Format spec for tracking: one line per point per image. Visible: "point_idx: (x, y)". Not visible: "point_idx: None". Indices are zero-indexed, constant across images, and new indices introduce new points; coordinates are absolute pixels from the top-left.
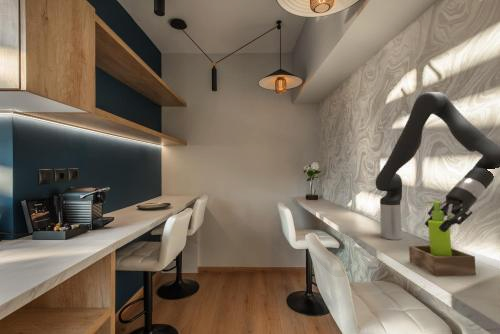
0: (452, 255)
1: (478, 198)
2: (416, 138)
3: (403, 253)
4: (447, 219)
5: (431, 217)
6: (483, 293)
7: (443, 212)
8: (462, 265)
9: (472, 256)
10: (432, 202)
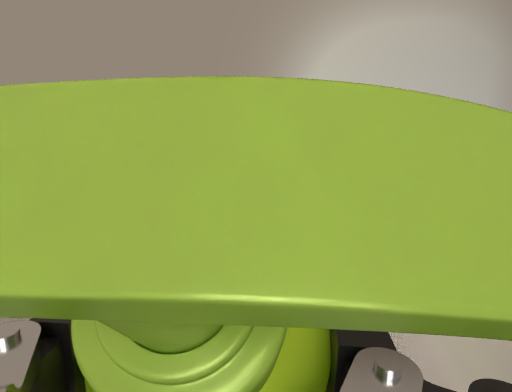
0: None
1: None
2: None
3: (490, 349)
4: (25, 327)
5: (337, 333)
6: (4, 320)
7: (86, 372)
8: None
9: None
10: (212, 99)
